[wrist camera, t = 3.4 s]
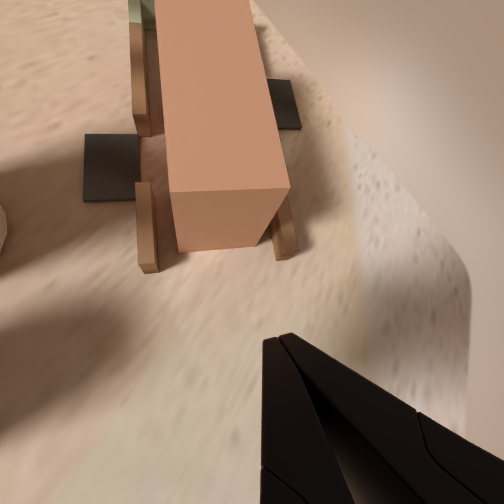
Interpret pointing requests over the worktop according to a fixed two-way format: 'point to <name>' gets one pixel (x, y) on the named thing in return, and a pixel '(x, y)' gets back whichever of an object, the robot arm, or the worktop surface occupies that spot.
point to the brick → (217, 125)
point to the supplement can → (2, 227)
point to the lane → (127, 145)
